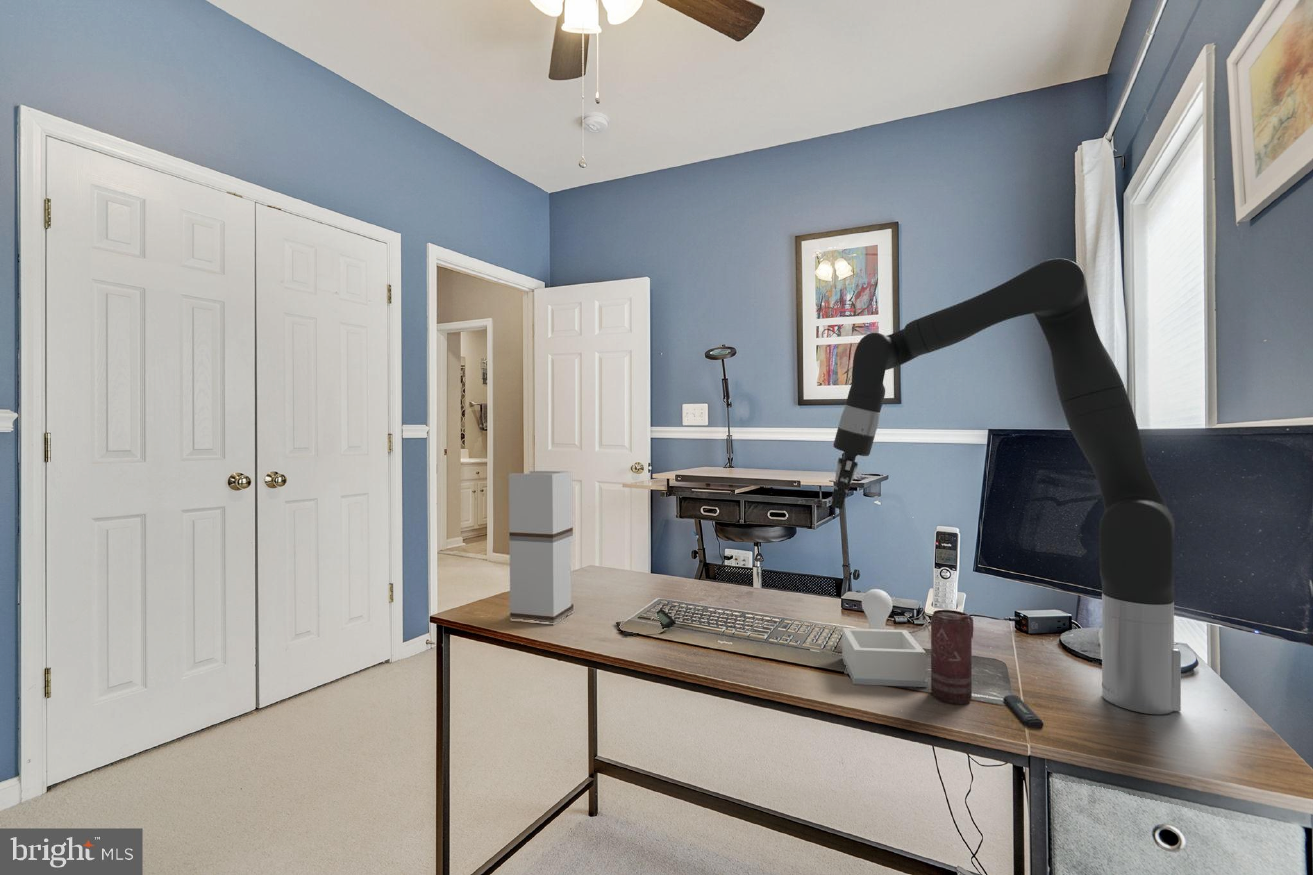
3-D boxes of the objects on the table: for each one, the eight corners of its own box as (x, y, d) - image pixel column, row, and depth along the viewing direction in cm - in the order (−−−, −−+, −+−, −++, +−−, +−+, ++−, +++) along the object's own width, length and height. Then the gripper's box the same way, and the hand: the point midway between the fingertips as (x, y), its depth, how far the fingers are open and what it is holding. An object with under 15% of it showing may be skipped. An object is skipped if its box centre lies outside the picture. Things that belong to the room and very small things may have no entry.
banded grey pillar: (573, 612, 153) (572, 471, 153) (553, 625, 143) (552, 474, 143) (532, 608, 156) (531, 470, 156) (510, 621, 146) (508, 473, 146)
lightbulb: (863, 645, 128) (862, 592, 128) (860, 635, 134) (860, 585, 134) (894, 647, 127) (894, 594, 127) (890, 637, 133) (890, 586, 133)
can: (978, 706, 100) (978, 620, 99) (936, 703, 101) (935, 618, 101) (967, 691, 105) (967, 609, 105) (927, 688, 107) (927, 607, 107)
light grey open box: (907, 660, 120) (907, 629, 119) (927, 687, 107) (927, 652, 107) (841, 658, 121) (841, 627, 121) (853, 684, 109) (853, 650, 109)
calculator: (615, 625, 143) (615, 612, 143) (663, 620, 147) (663, 608, 147) (625, 638, 134) (625, 624, 134) (676, 633, 138) (676, 619, 138)
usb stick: (1002, 702, 102) (1002, 693, 102) (1019, 703, 102) (1019, 694, 102) (1026, 729, 93) (1026, 719, 93) (1045, 731, 92) (1045, 720, 92)
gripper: (877, 437, 121) (855, 516, 123) (873, 431, 134) (853, 502, 137) (838, 428, 123) (817, 505, 125) (838, 423, 136) (819, 493, 139)
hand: (836, 503), depth 131 cm, fingers open, 8 cm apart
